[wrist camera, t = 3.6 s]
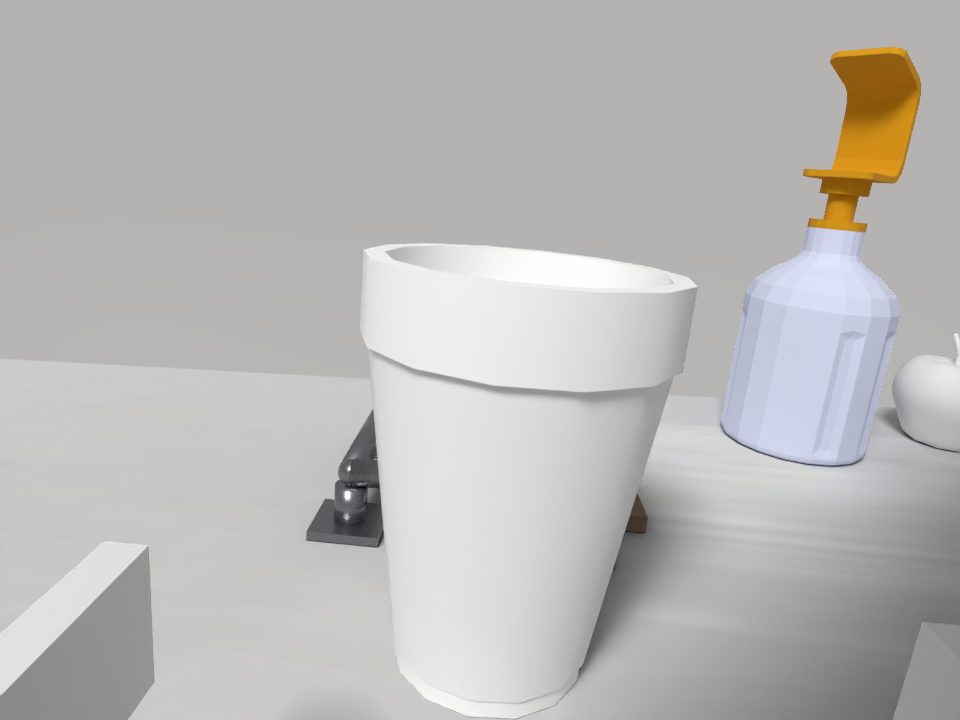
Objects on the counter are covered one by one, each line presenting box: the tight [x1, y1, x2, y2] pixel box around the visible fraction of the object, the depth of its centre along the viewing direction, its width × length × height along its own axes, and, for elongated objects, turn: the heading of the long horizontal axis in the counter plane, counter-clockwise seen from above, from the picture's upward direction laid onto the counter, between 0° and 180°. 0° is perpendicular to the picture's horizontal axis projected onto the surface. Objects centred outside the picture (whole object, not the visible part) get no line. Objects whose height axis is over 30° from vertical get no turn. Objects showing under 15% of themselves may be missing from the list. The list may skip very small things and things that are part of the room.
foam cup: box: [360, 243, 698, 719], centre depth 21 cm, size 10×9×13 cm
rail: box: [306, 410, 616, 570], centre depth 33 cm, size 13×12×3 cm
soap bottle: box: [721, 47, 921, 466], centre depth 42 cm, size 9×9×25 cm
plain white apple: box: [892, 333, 960, 452], centre depth 47 cm, size 7×7×8 cm
